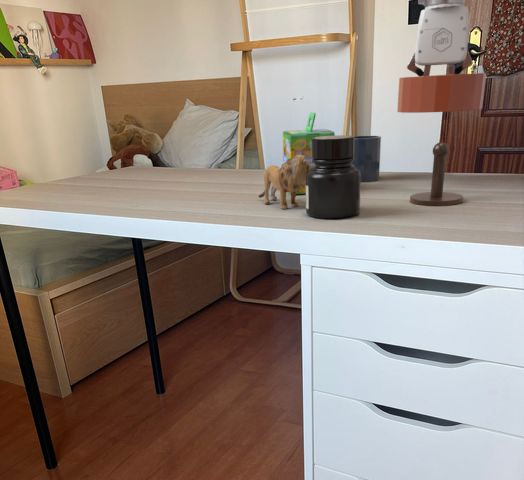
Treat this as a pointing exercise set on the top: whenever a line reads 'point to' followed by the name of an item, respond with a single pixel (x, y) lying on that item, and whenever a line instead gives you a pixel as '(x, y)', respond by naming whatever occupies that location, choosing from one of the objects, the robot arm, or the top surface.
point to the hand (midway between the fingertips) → (436, 101)
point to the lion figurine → (286, 179)
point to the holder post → (437, 182)
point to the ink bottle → (333, 178)
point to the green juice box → (302, 144)
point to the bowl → (441, 93)
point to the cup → (367, 157)
